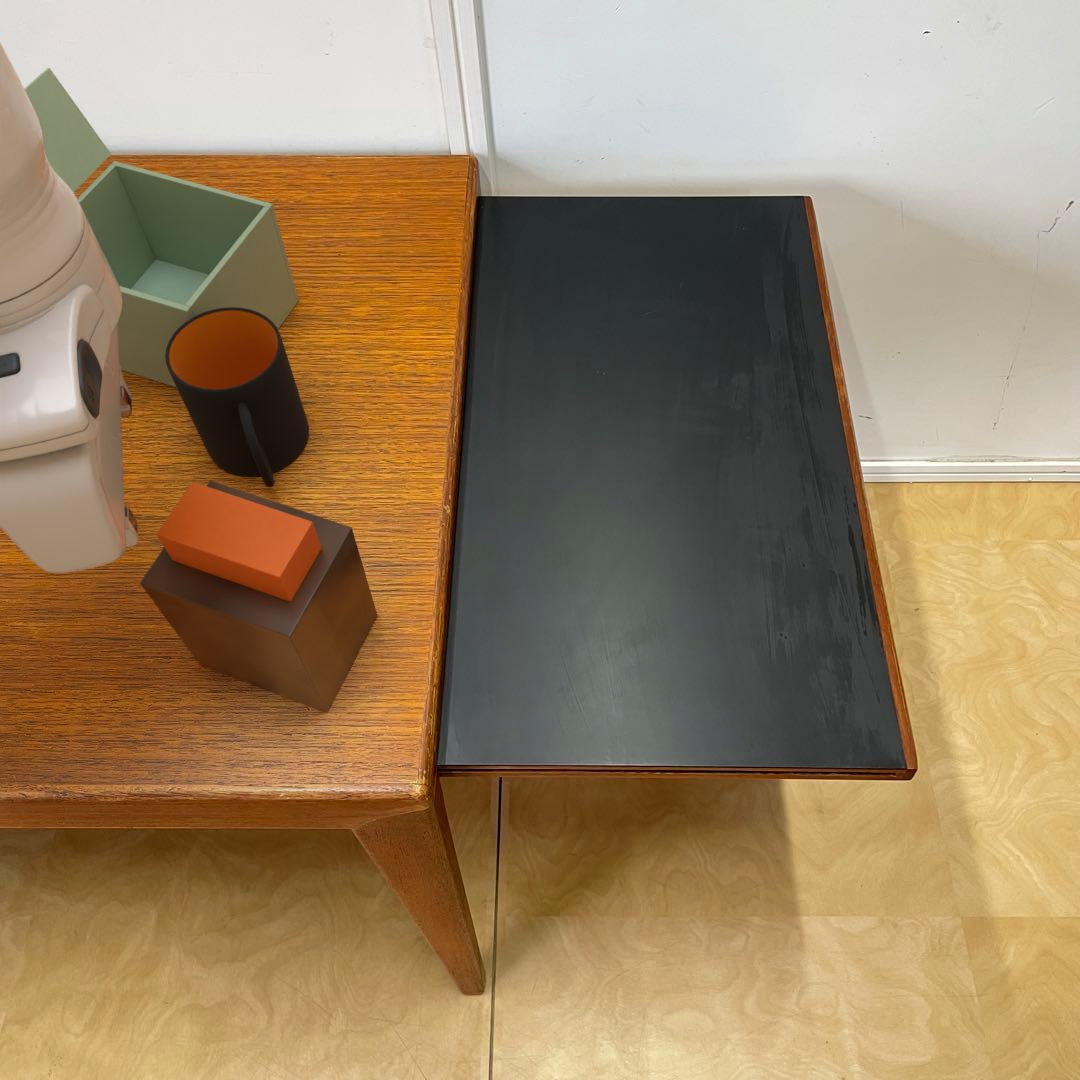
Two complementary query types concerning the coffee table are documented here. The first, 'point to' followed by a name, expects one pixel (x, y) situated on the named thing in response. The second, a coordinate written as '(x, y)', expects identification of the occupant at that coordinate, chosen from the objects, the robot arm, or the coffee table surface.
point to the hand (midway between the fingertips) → (121, 470)
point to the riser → (274, 616)
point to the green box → (183, 257)
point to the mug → (239, 391)
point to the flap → (65, 131)
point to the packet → (240, 541)
